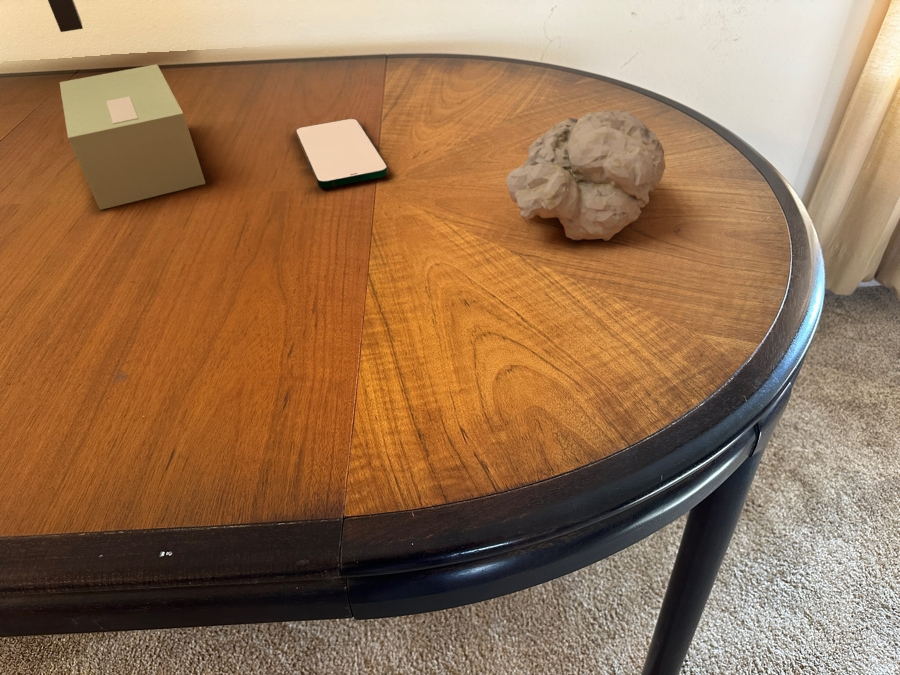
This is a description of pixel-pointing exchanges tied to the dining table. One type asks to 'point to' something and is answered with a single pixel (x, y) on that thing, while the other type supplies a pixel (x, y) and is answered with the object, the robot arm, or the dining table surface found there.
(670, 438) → the dining table surface
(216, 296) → the dining table surface
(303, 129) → the smartphone
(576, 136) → the mineral
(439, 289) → the dining table surface
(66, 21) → the bar
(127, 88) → the tissue box
